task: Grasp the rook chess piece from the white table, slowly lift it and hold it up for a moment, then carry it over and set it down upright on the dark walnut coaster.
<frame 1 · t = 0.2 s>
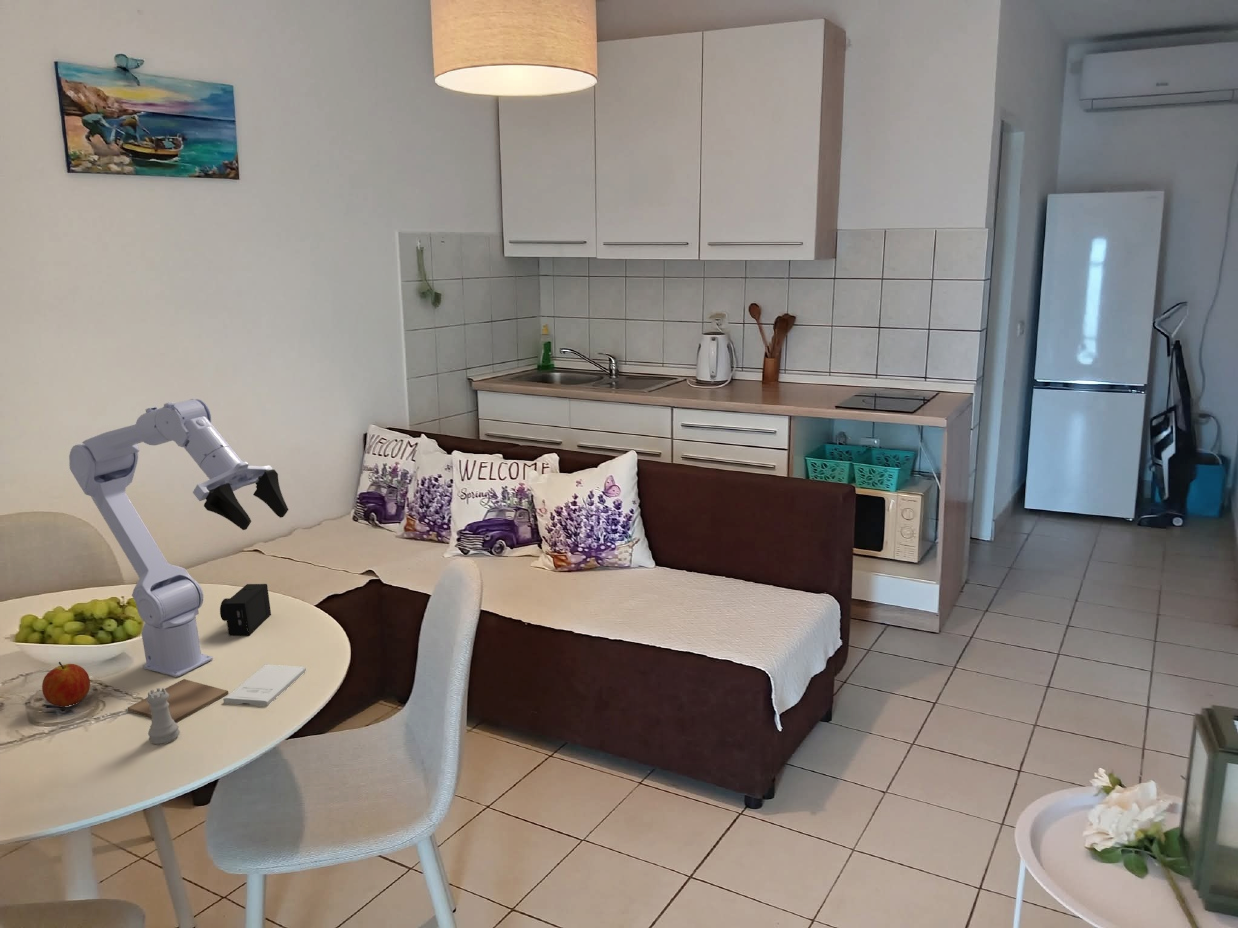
hand: (266, 519, 151), 31 cm above the table, tool tilted 45°, fingers open, 7 cm apart
digital camera: (247, 626, 189), on the table
walnut coaster: (179, 702, 158), on the table
fruit: (70, 705, 159), on the table
external hard drive: (266, 690, 163), on the table
rook chess piece: (164, 739, 147), on the table
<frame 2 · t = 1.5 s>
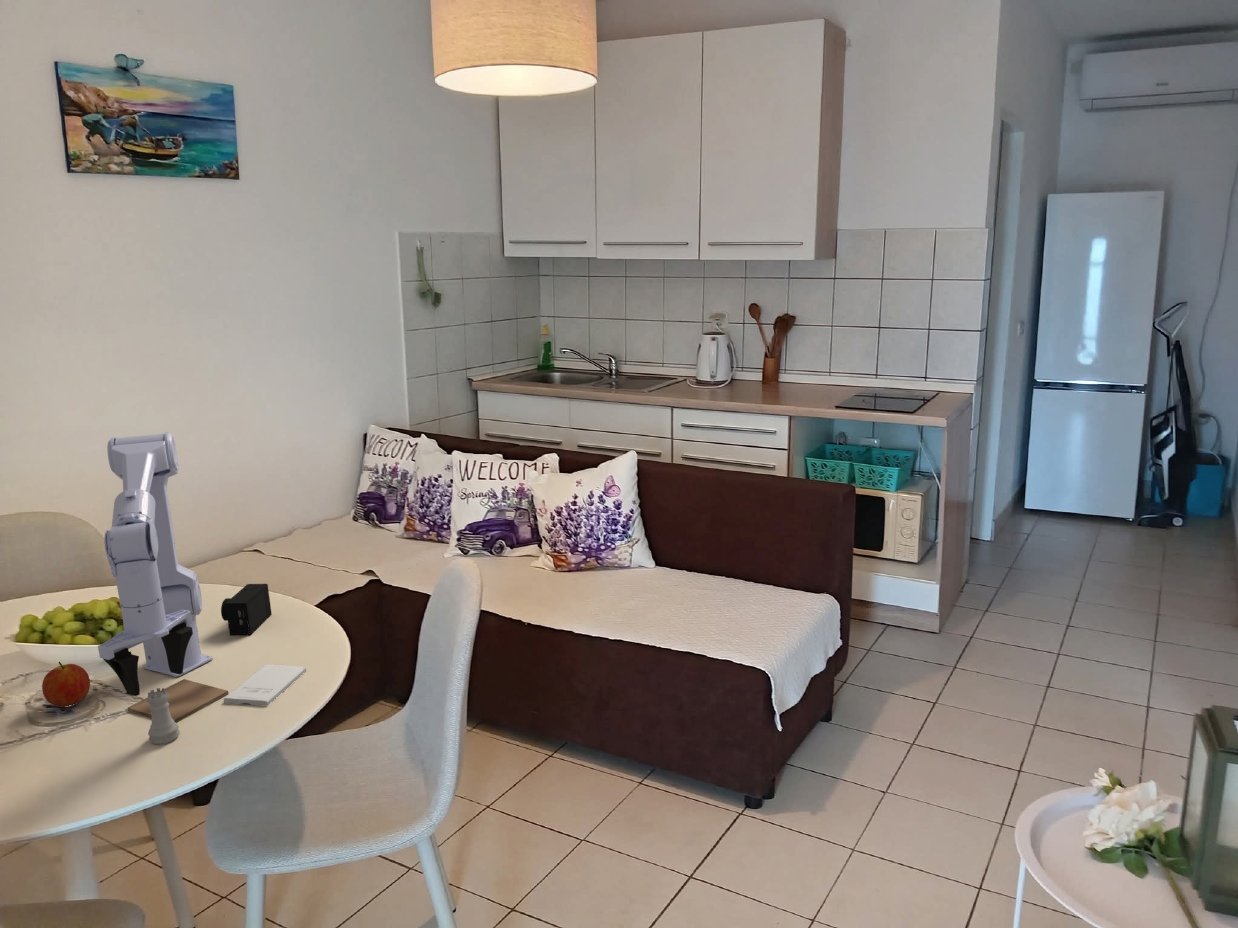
hand: (155, 683, 145), 9 cm above the table, tool pointing down, fingers open, 7 cm apart
nothing on the table moved.
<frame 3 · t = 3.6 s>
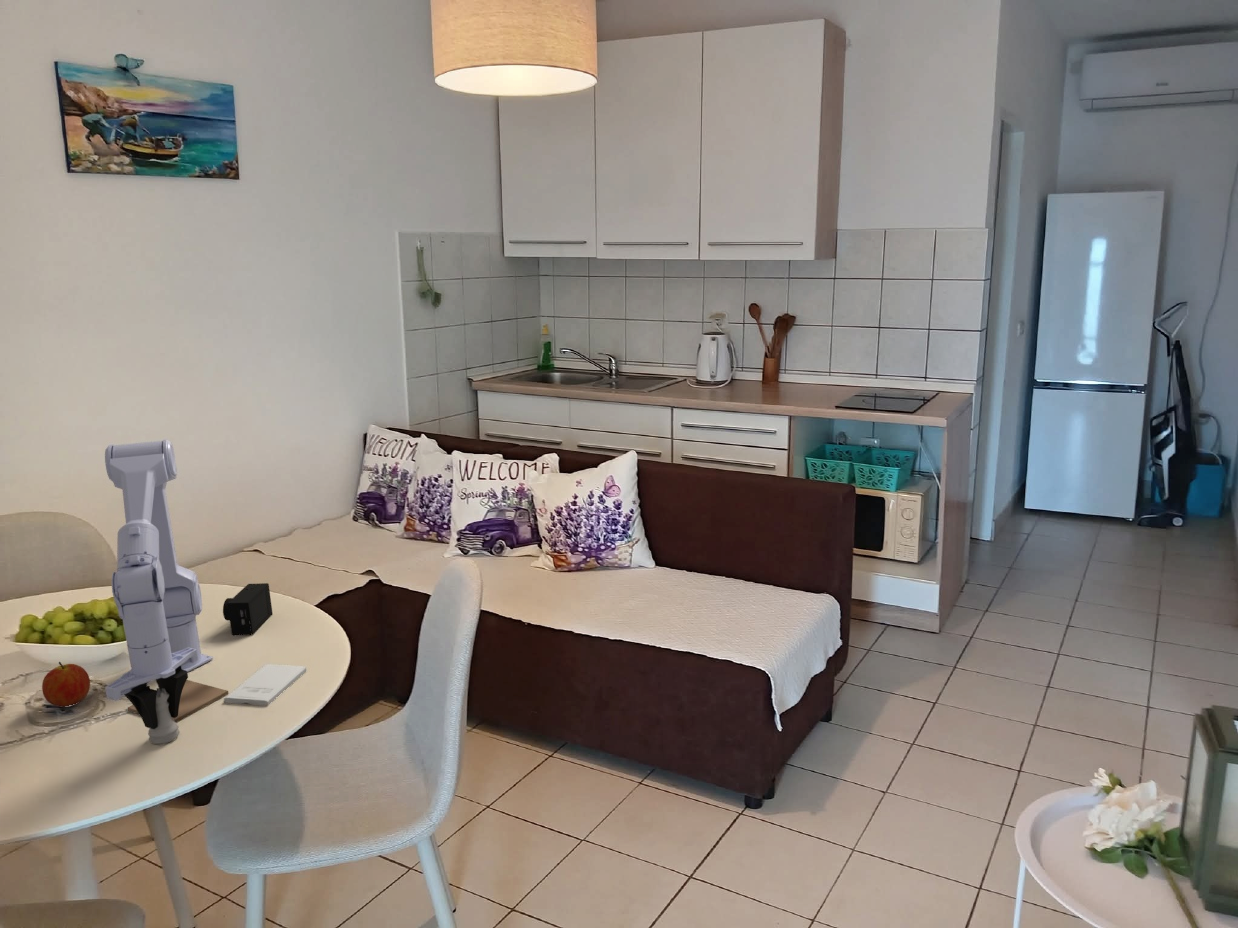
hand: (161, 721, 146), 3 cm above the table, tool pointing down, fingers closed on rook chess piece, 3 cm apart
rook chess piece: (164, 739, 147), on the table, touching gripper
everything else where it was.
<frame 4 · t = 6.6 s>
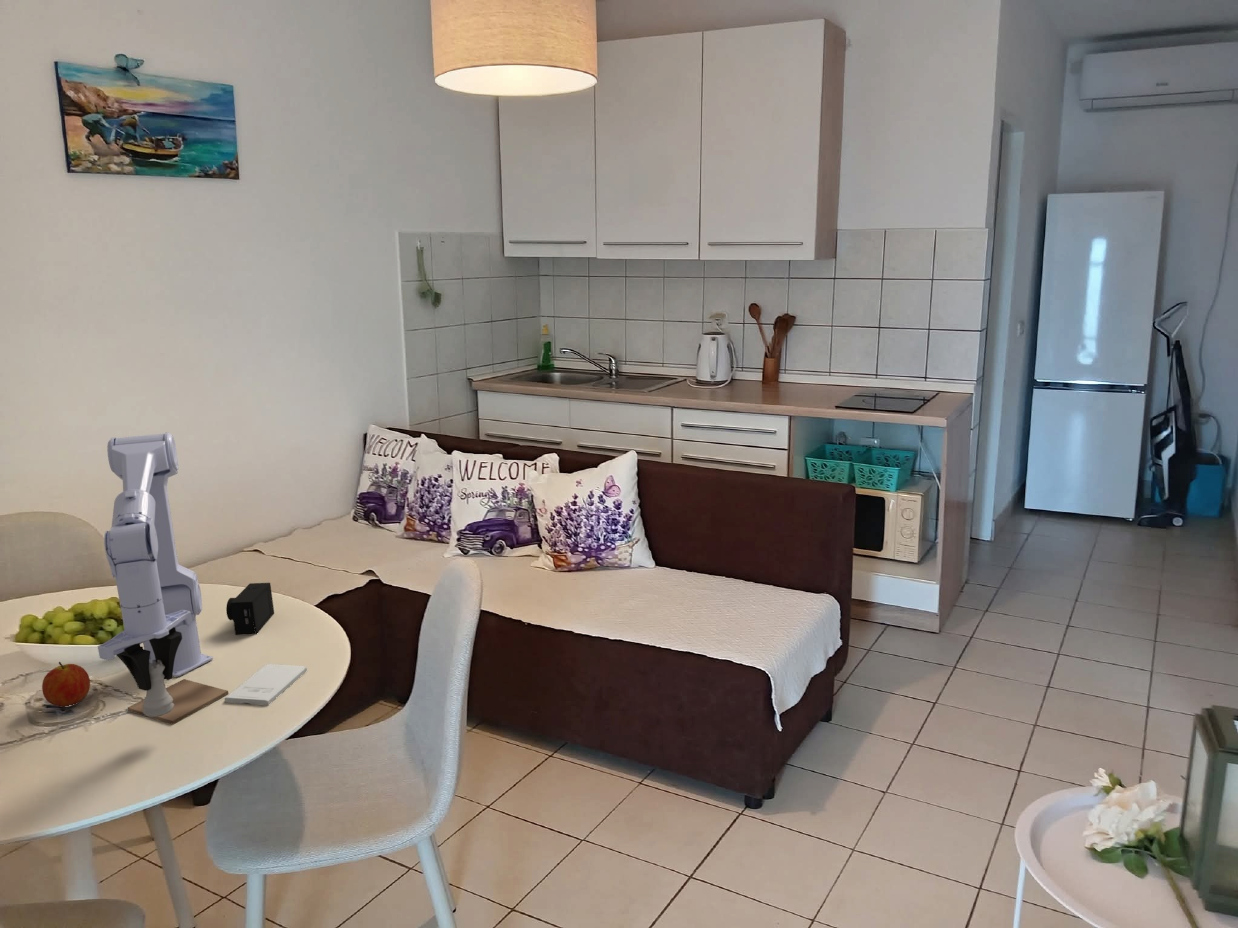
hand: (155, 683, 145), 9 cm above the table, tool pointing down, fingers closed on rook chess piece, 3 cm apart
rook chess piece: (158, 711, 146), point 5 cm above the table, touching gripper
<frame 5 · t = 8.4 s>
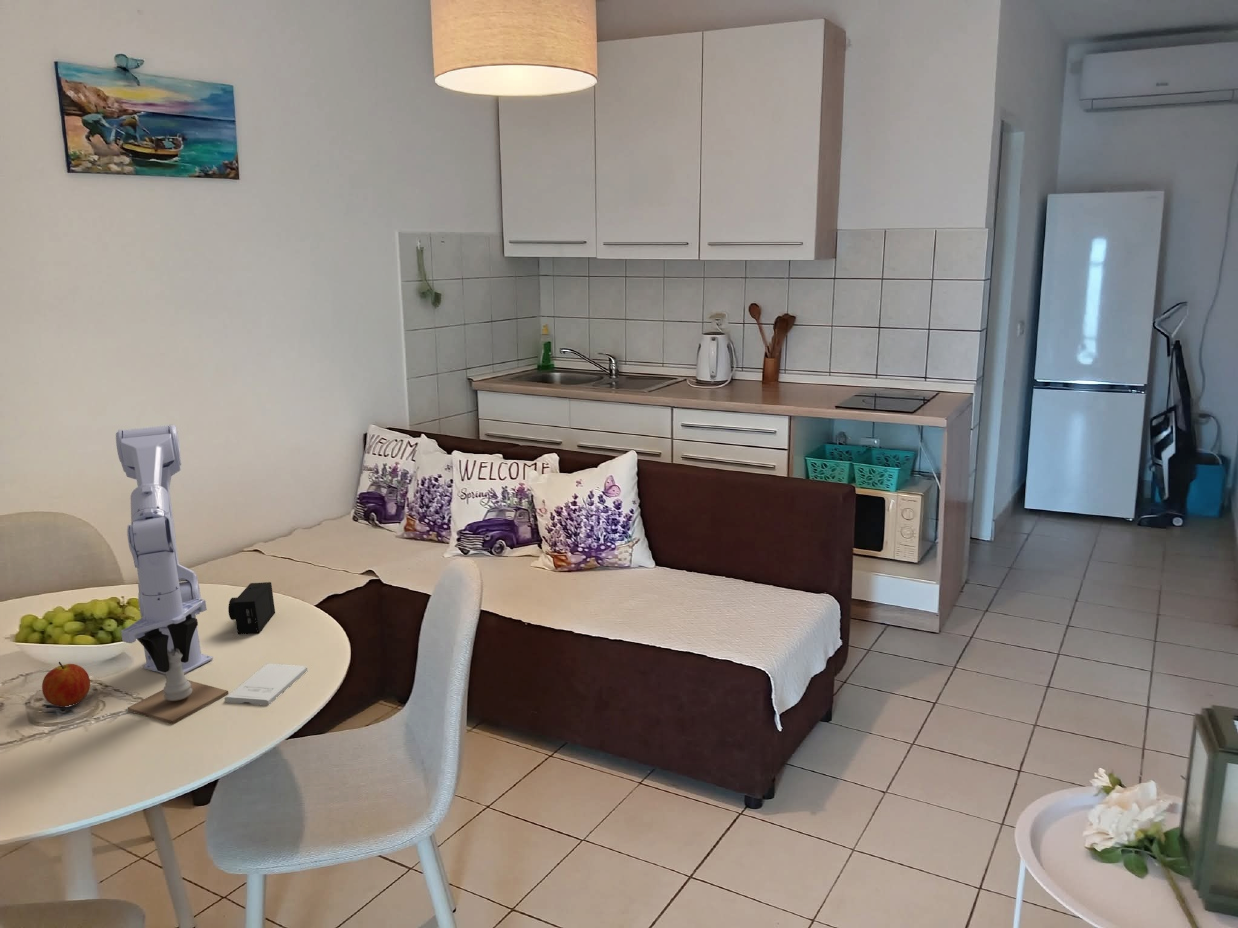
hand: (173, 665, 157), 7 cm above the table, tool pointing down, fingers closed on rook chess piece, 3 cm apart
rook chess piece: (178, 696, 158), point 1 cm above the table, touching gripper
when the fingers open (5 cm above the table, at t = 9.6 s): rook chess piece stays where it is, resting on walnut coaster.
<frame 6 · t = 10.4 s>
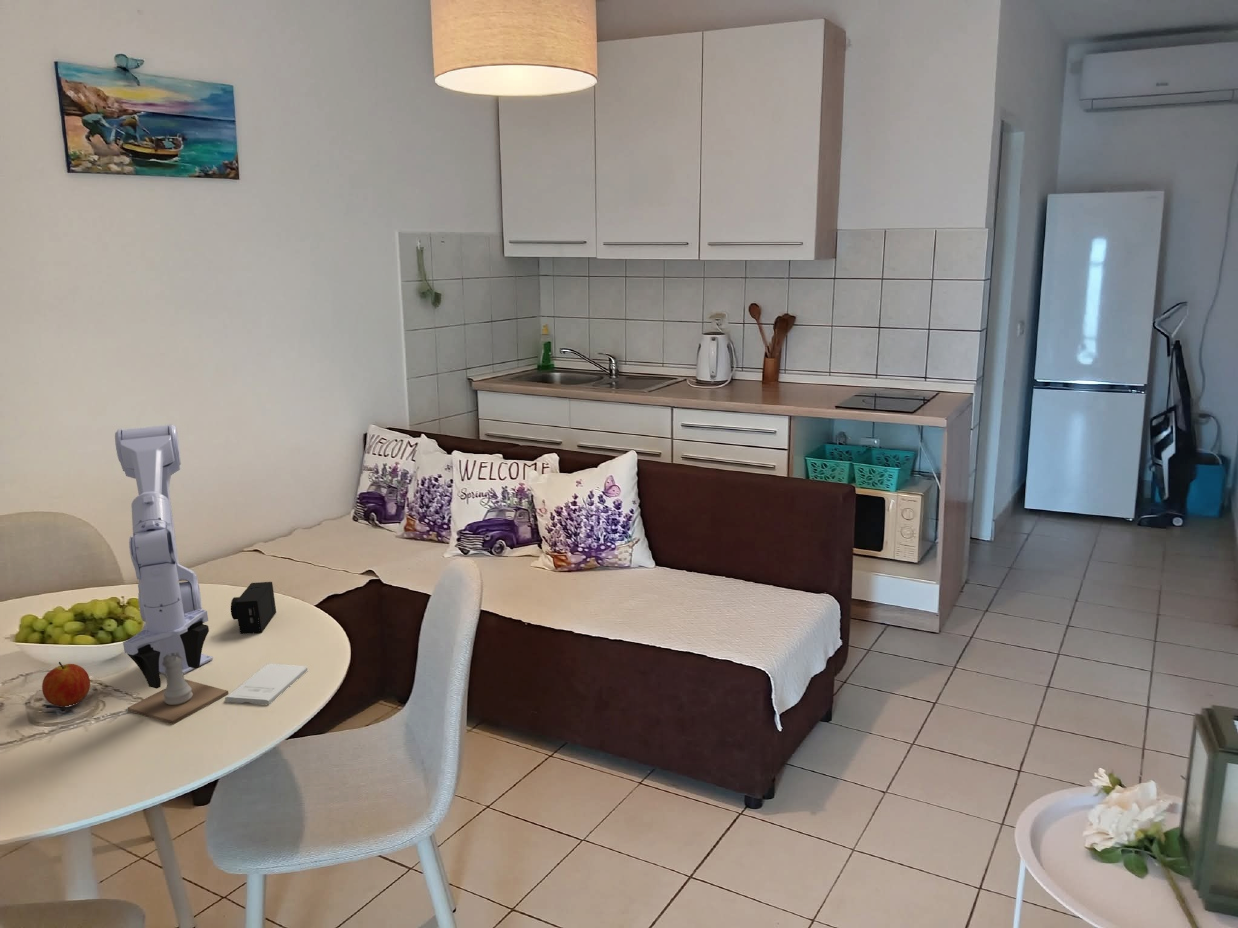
hand: (174, 676, 157), 5 cm above the table, tool pointing down, fingers open, 7 cm apart
rook chess piece: (179, 700, 158), resting on walnut coaster
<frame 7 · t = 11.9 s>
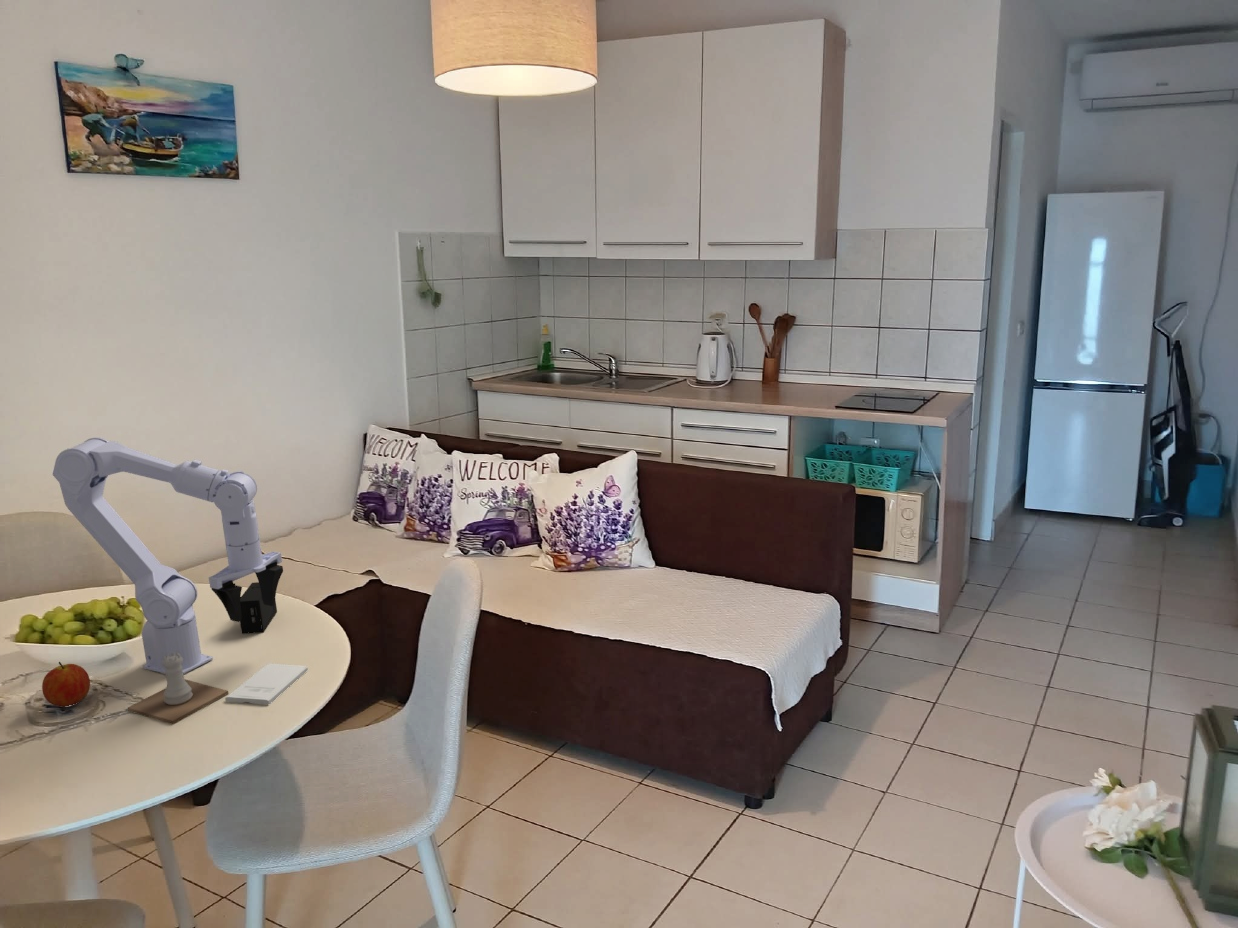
hand: (252, 612, 171), 9 cm above the table, tool pointing down, fingers open, 7 cm apart
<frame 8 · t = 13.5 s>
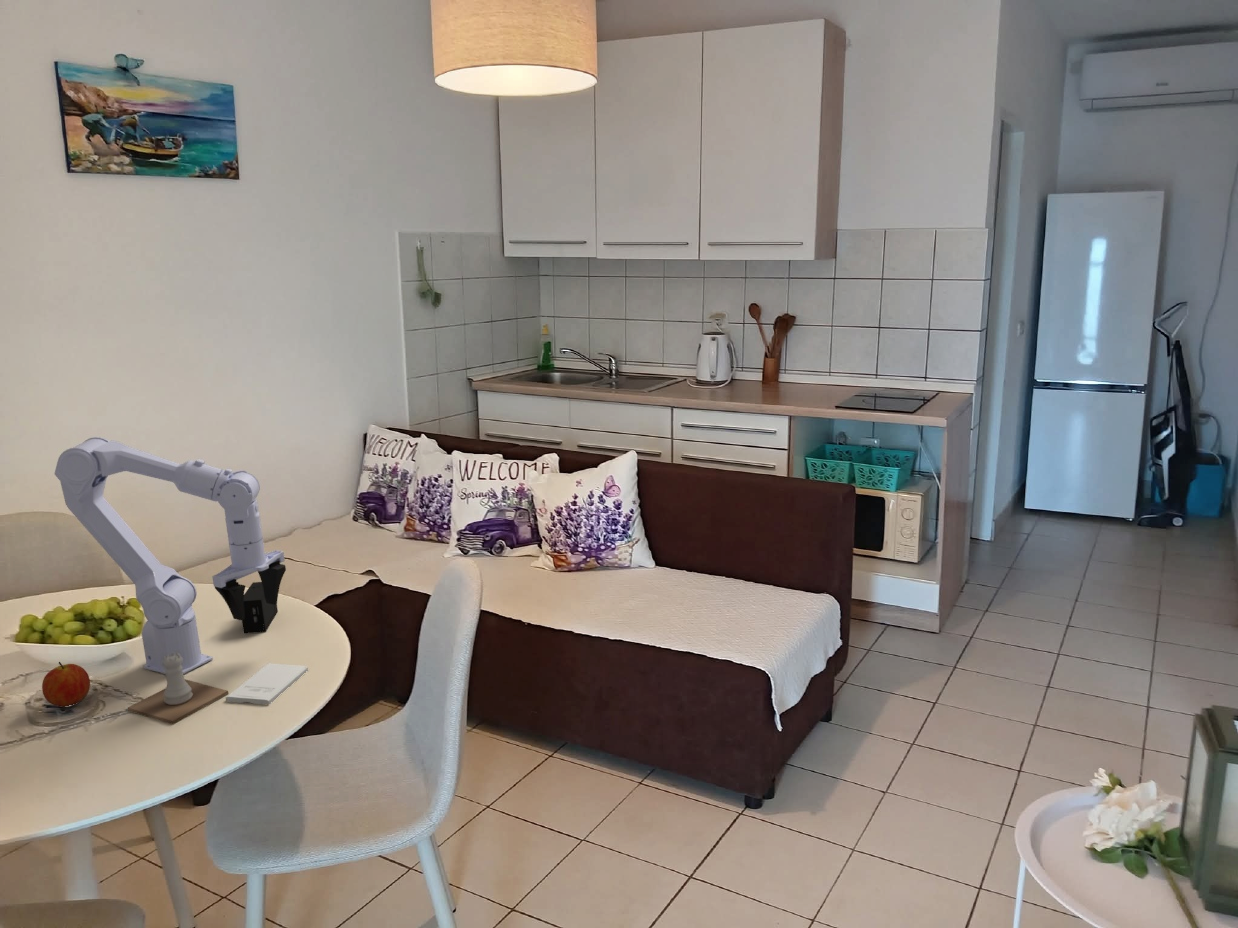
hand: (255, 610, 172), 9 cm above the table, tool pointing down, fingers open, 7 cm apart
at the end: rook chess piece inside the target area on the walnut coaster (0.3 cm from its centre), point 0.4 cm above the walnut coaster's base; rook chess piece tilted 0°; the gripper is holding nothing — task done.
